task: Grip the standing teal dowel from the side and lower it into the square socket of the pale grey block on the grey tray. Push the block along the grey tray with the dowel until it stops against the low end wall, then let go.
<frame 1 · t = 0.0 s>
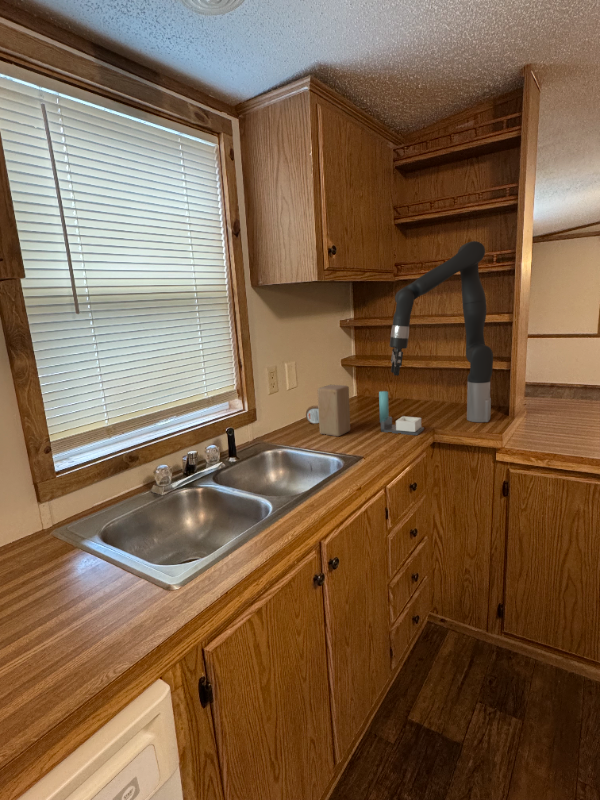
hand: (394, 373, 196), 22 cm above the table, tool pointing down, fingers open, 8 cm apart
wooden block: (335, 433, 192), on the table
dowel: (384, 422, 204), on the table
grey tray: (408, 431, 187), on the table
socket block: (408, 423, 187), point 3 cm above the table, slide at 0.0 cm
tin: (322, 423, 209), on the table
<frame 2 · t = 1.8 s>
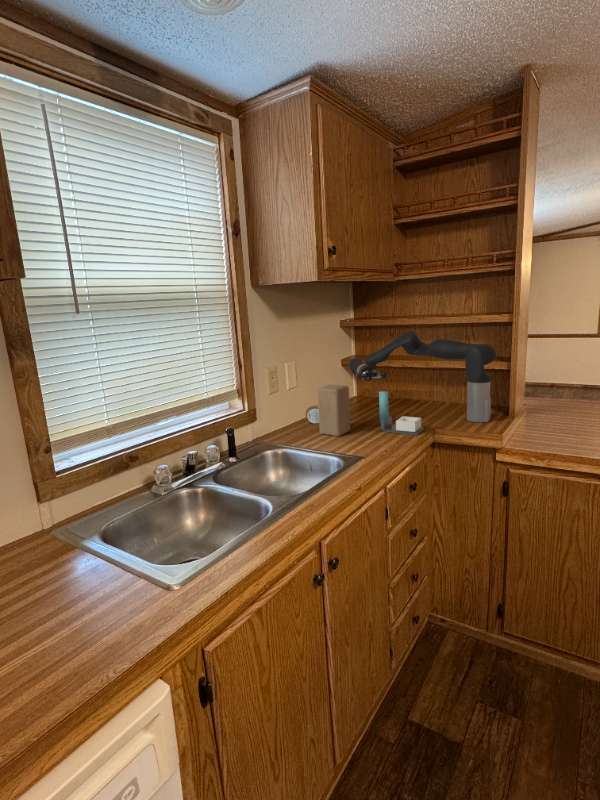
hand: (375, 377, 211), 19 cm above the table, tool horizontal, fingers open, 8 cm apart
nothing on the table moved.
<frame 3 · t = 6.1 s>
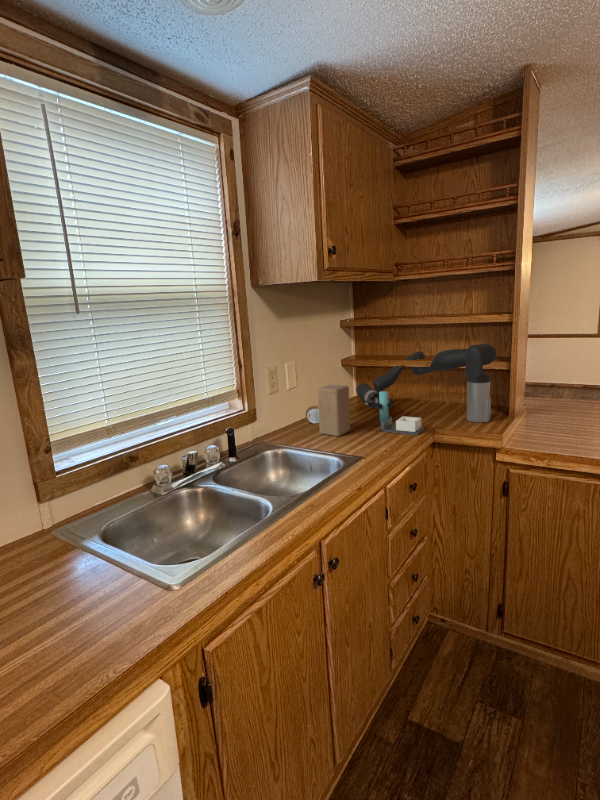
hand: (385, 406, 200), 8 cm above the table, tool horizontal, fingers closed on dowel, 4 cm apart
dowel: (384, 422, 204), on the table, touching gripper
everything else where it was.
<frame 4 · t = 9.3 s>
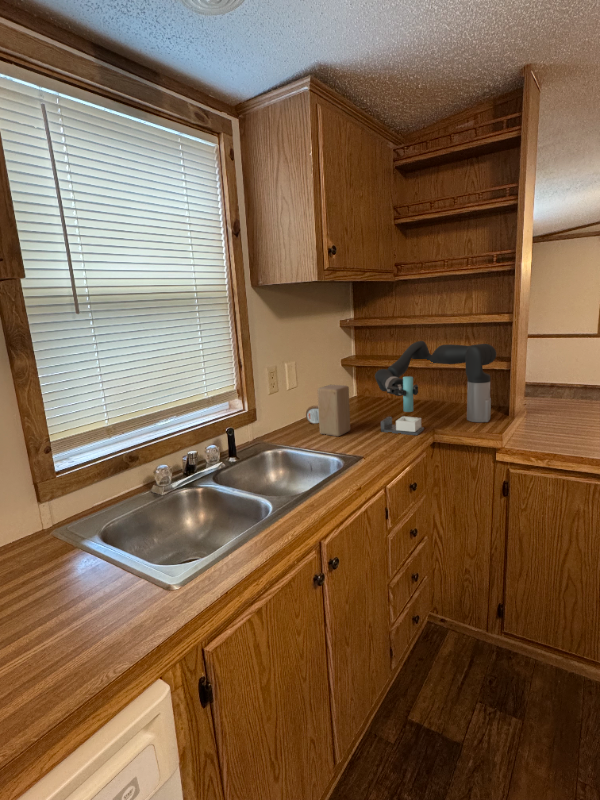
hand: (410, 392, 181), 17 cm above the table, tool horizontal, fingers closed on dowel, 4 cm apart
dowel: (408, 410, 186), point 9 cm above the table, touching gripper
everything else where it was.
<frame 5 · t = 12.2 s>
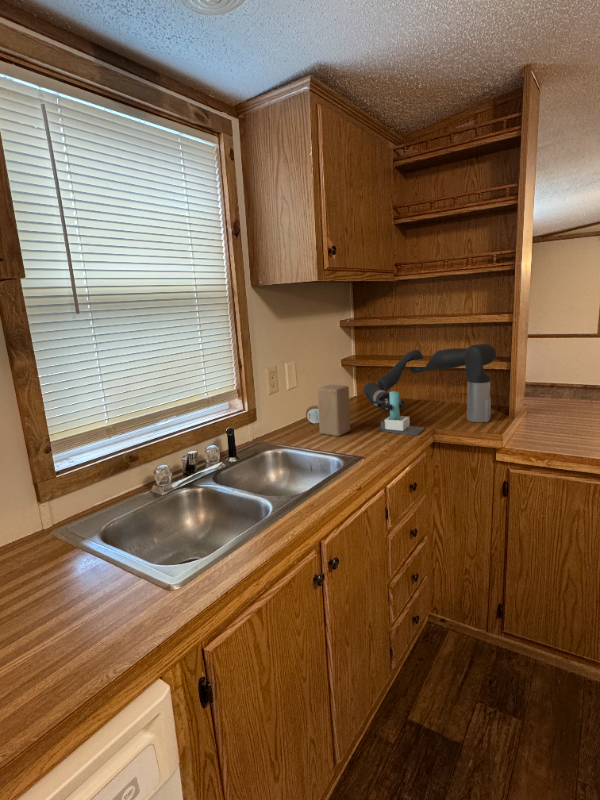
hand: (396, 407, 186), 10 cm above the table, tool horizontal, fingers closed on dowel, 4 cm apart
dowel: (394, 424, 190), point 2 cm above the table, touching gripper, socket block
socket block: (397, 422, 189), point 3 cm above the table, slide at 5.0 cm, touching dowel, grey tray
everything else where it was.
when the fingers open (10 cm above the table, at t = 12.6 s): dowel stays where it is, resting on socket block.
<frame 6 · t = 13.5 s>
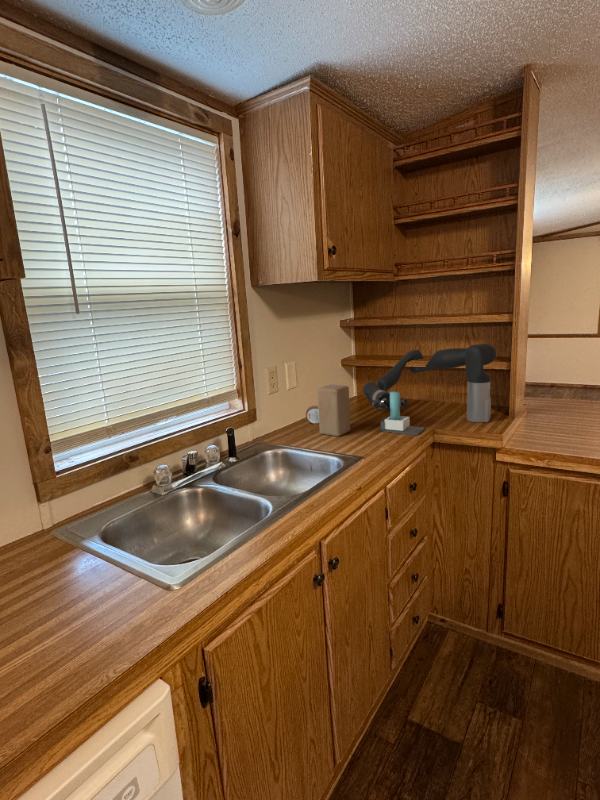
hand: (395, 406, 187), 10 cm above the table, tool horizontal, fingers open, 8 cm apart
dowel: (395, 424, 190), point 2 cm above the table, touching socket block
socket block: (397, 422, 189), point 3 cm above the table, slide at 5.0 cm, touching dowel
everything else where it was.
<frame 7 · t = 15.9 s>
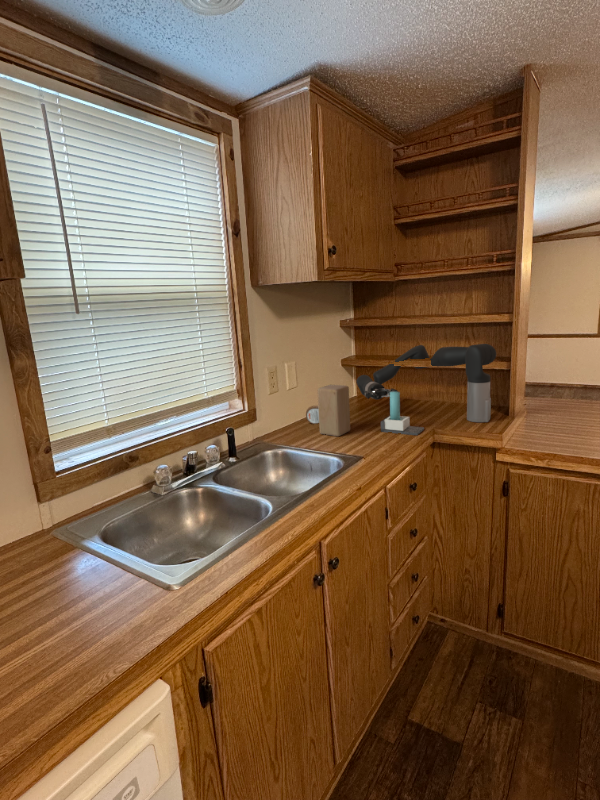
hand: (386, 396, 199), 12 cm above the table, tool horizontal, fingers open, 8 cm apart
nothing on the table moved.
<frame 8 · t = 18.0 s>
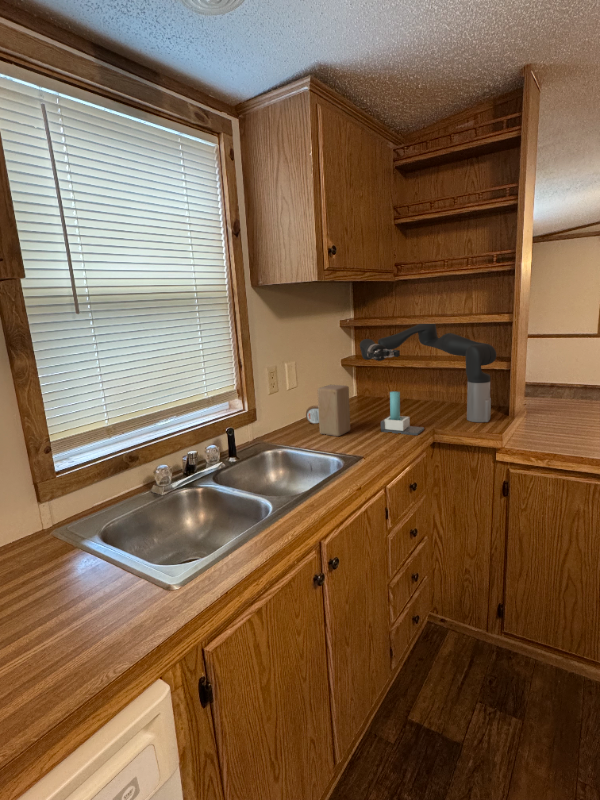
hand: (388, 355, 200), 30 cm above the table, tool horizontal, fingers open, 8 cm apart
nothing on the table moved.
at the end: dowel 0.9 cm off-centre on the socket block, point 2.2 cm above the socket block's base; socket block slide at 5.0 cm; dowel tilted 1° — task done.
